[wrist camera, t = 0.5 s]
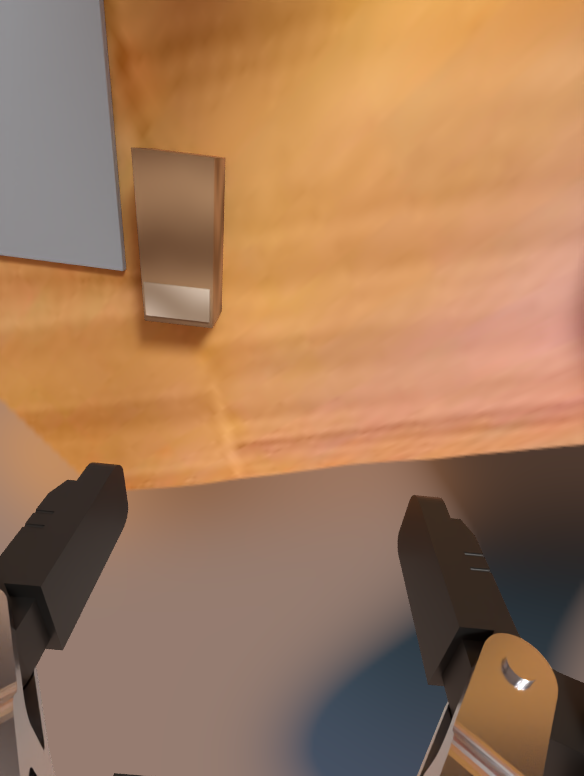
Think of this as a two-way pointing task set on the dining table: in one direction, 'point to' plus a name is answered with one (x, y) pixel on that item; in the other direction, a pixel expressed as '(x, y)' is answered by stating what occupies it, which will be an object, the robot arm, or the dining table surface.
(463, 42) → the dining table surface
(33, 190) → the slate mat
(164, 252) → the brown rectangular block
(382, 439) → the dining table surface
